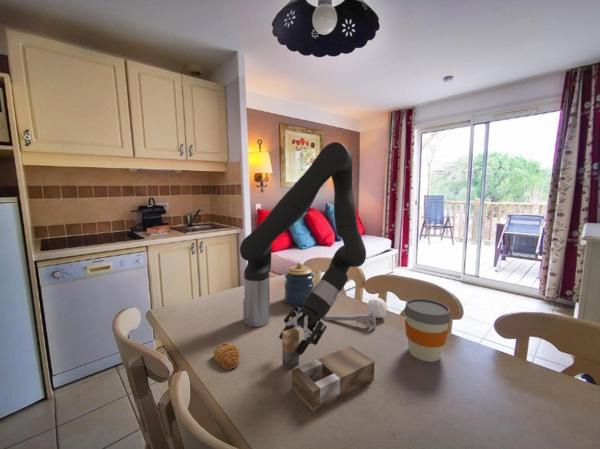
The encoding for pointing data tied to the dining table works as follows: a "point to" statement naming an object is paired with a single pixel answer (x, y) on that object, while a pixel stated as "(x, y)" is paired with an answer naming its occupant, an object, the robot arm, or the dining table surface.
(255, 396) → the dining table surface
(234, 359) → the pastry
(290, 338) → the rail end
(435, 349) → the reusable coffee cup
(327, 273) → the robot arm
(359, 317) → the caliper
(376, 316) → the geometric ball
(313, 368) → the notched wooden block
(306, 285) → the canister
